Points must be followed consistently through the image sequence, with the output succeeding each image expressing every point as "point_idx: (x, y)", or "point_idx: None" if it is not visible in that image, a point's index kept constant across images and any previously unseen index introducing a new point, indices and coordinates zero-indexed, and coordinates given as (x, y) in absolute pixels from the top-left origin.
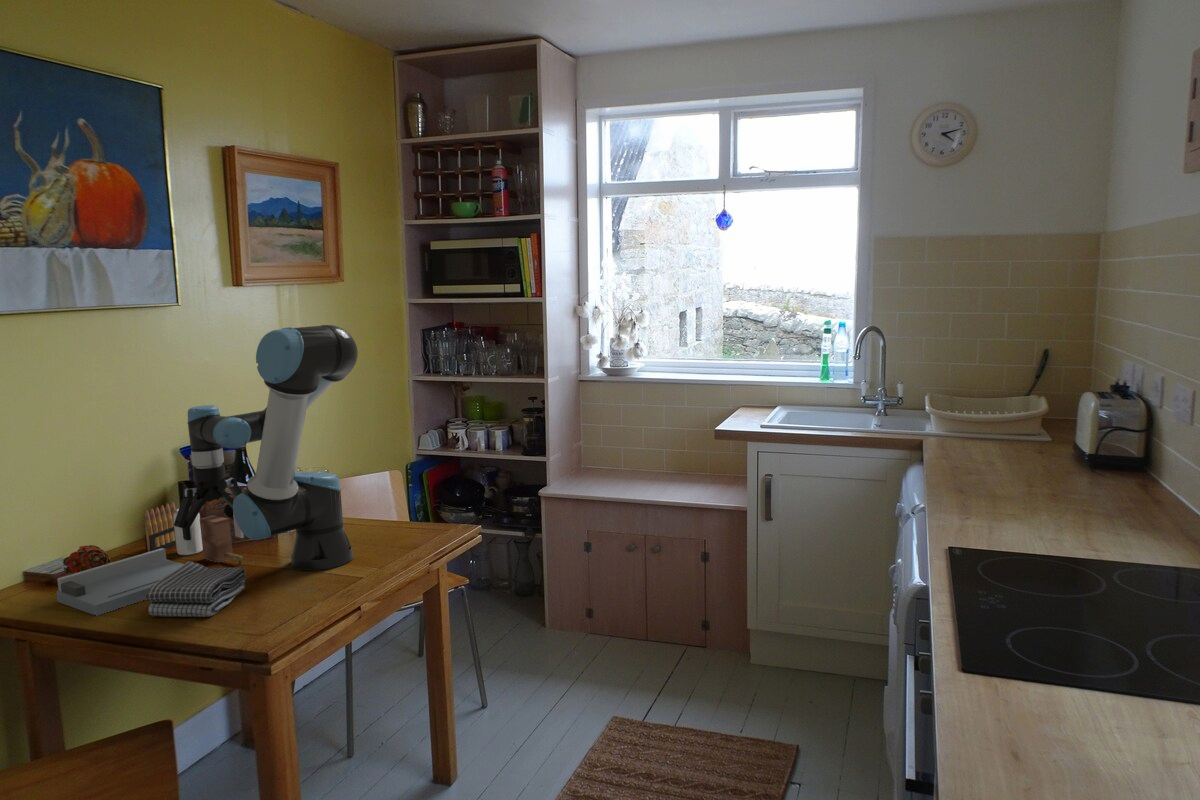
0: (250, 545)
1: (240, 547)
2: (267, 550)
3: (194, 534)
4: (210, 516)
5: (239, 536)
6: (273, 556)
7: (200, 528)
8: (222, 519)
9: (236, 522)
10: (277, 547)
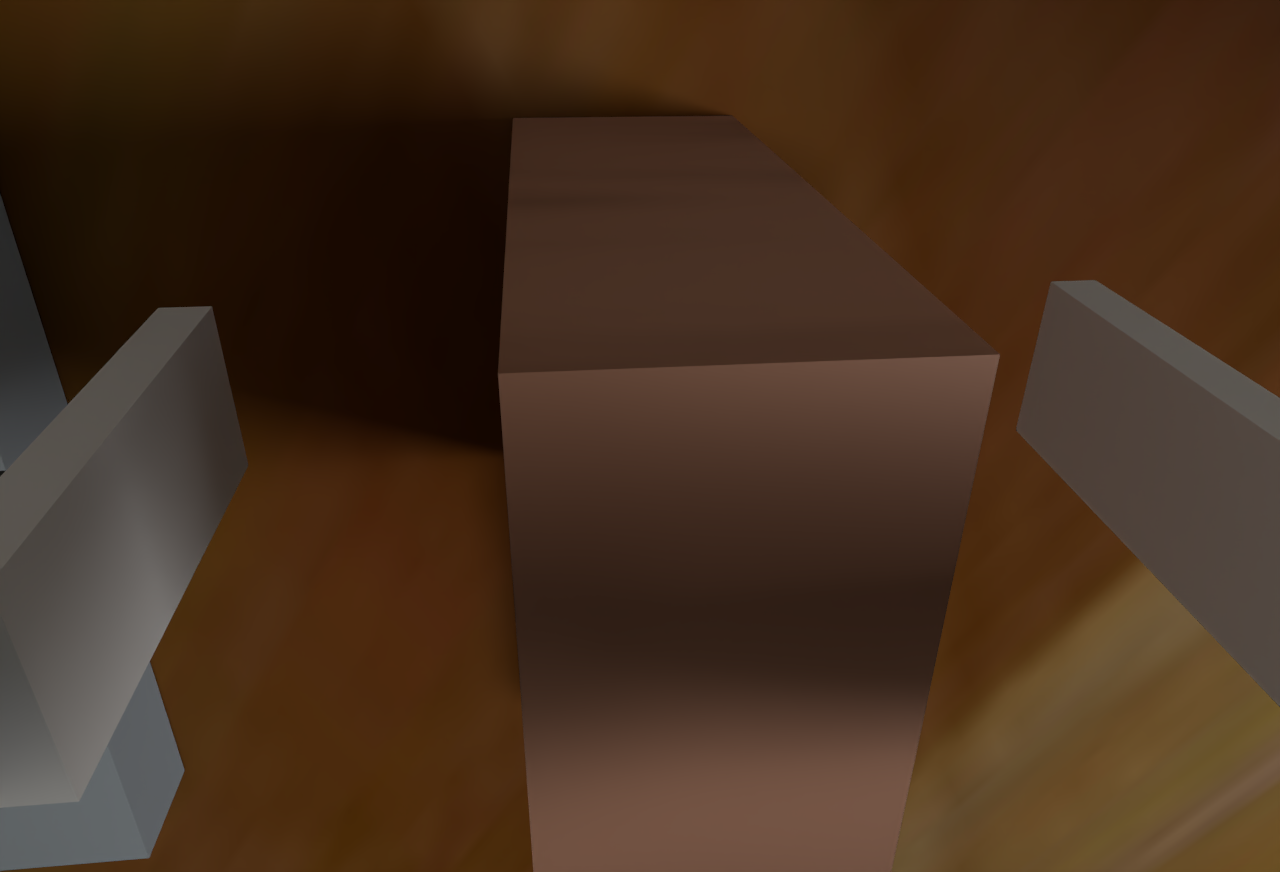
0: (1210, 136)
1: (1104, 85)
2: (1079, 502)
3: (141, 669)
4: (861, 402)
5: (1036, 397)
6: (937, 699)
7: (504, 267)
8: (775, 869)
9: (1189, 481)
10: None
